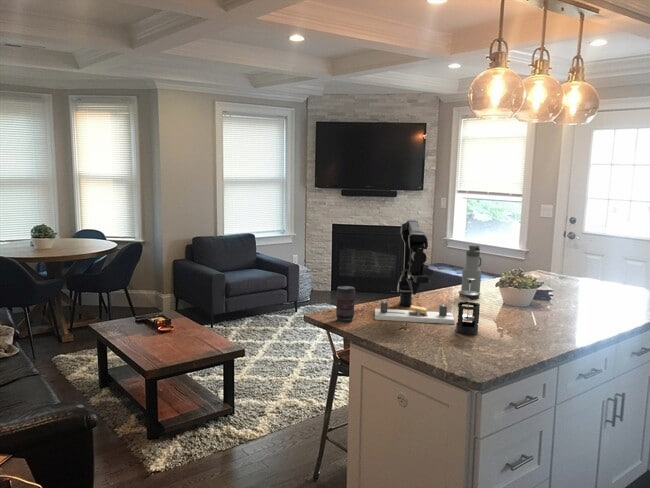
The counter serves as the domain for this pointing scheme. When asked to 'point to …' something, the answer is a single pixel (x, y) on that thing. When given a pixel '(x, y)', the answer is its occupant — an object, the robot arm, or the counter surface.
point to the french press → (468, 327)
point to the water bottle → (472, 270)
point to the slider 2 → (443, 310)
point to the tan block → (415, 308)
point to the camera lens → (345, 304)
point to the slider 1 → (384, 306)
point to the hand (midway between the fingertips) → (414, 294)
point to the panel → (414, 316)
